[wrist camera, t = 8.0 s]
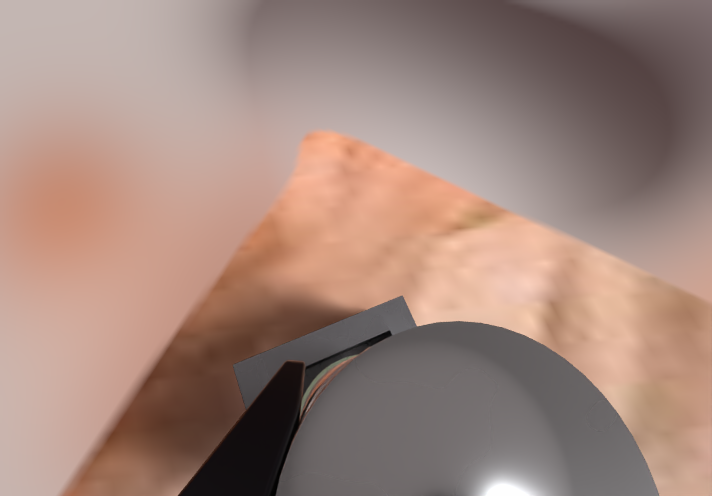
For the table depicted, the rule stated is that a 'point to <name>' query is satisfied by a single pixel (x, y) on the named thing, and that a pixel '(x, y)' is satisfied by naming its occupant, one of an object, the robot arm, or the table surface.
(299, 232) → the table surface
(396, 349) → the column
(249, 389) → the stand collar
